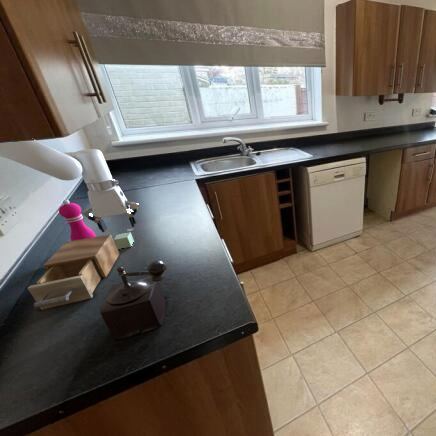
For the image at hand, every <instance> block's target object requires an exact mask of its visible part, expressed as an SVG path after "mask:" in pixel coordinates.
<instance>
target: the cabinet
mask: <svg viewBox="0 0 436 436" xmlns="http://www.w3.org/2000/svg"><path fill="white" fill-rule="evenodd" d="M119 256H120V252H119V250H118V249H117V246H116V244H115V242H114V238H113V236H112V234H104V235H97V236H96V237H92V238H86V239H80V240H74V241H71V240H69V241H68V240H67V241H65V243H64V244H62V246H61V247H59V248H58V250H57V251H56V252H55V253H54V254H53V255H52V256H51V257H49V259H48V260H47V261H46V262H45V263H44V264H43V267H44V269H45V272H47V271H48V270H49V269H50V268H51V267H52V266H55V265H60V264H65V263H71V262H76V261H81V260H86V259H92V258H94V260H95V262H96V264H97V266H98V268H99V270H100V273H101V275H102V278H104V279H105V278H107V277H108V275H109V273H110V272H111V269H112V268H113V266H114V264H115V263H116V261H117V259H118V258H119Z"/></svg>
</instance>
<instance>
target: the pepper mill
mask: <svg viewBox="0 0 436 436" xmlns="http://www.w3.org/2000/svg"><path fill="white" fill-rule="evenodd" d="M58 213H59V215H60V216H61V217H62V218H63V217H64V221H65V222H66V223H67V224H68V225H69V227H70V241H74V240H80V239H86V238H92V237H97V236H96V233H95V232H94V231H93V229H91V228H90V227H88V226H87V225H86V224H85V222H84V220H83V218H84V215H83V214H82V208H81V206H80V205H79V204H77V203H73V202H71V201H70V200H68V199H64V200H62V205H61V206H59V208H58Z"/></svg>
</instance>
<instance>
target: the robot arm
mask: <svg viewBox="0 0 436 436" xmlns="http://www.w3.org/2000/svg"><path fill="white" fill-rule="evenodd" d="M0 157H1V158H4V159H8V160H10V161H13V162H15V163H18V164H20V165H22V166H26V167H28V168H31V169H32V170H35V171H38V172H40V173H43V174H46V175H48V176H50V177H52V178H55V179H57V180H60V181H67V182H68V181H74V180H76V179H78V178H80V177H81V176H82V178H83V180H84V183H85V184H86V185H85V186H86V187H87V189H88V191H87V197H88V201H89V205H90V207H88V208H87V209H85V210H84V211H83V212H81V214H82V216H83V217H86V218H87V219H88V220H90V221H92V222H93V223H94V224H96V225H97V227H98V229H99V230H100V231H101V232H102V233H105V232H106V231H107V230H108V227H107V224H106V223H105V220H104V219H102V218H108V217H112V216H119V215H126V216H127V217H128V220H129V222H130V225H131V227H132V228H135V227H136V226H137V224H138V221H137V218H136V214H137V212H138V210H139V207H140V203H138V202H135V201H131V200H130V201H129V200H128V198H127V197H126V196H125V194H124V192H123V190H122V189H121V187H120V186H119V184H120V181H119V179H114V178H113V176H112V174H111V171H110V168H109V166H108V164H107V161H106V159H105V155H104V154H103V152H102V151H101V150H100V149H98V148H87V149H81V150H77V151H69V152H61V151H59V150H57V149H55V148H52V147H51V146H48V145H47V144H44V143H42V142H40V141H38V140H36V139H34V141H22V142H11V143H0ZM131 207H133V209H130V208H131ZM92 212H93V214H94V215H93V214H92Z"/></svg>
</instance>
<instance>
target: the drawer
mask: <svg viewBox="0 0 436 436" xmlns="http://www.w3.org/2000/svg"><path fill="white" fill-rule="evenodd" d="M102 278H103V277H102V275H101V273H100V270H99V268H98V266H97V264H96V262H95V260H94V258H92V259H86V260H81V261H76V262H71V263H65V264H60V265H55V266H52V267H51V268H50V269H49V270H48V271H45V273H44V274H43V275H42V276H41V277H40V278H39V279H38V280H37V281H36V284H31V285H29V286H28V287H27V290H28V292H29V294H31V296H32V297H33V299H34V300H35V302H34V303H33V307H34V309H35V308H36V309H38V308H39V309H40V310H46V309H51V308H54V307H59V306H64V305H67V304H68V305H69V304H72V303H73V304H74V303H77V302H82V301H86V300H90V299H93V297H94V294H93V293H94V291H95V290H96V287H98V285H99V284H100V281H101V280H102Z"/></svg>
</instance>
